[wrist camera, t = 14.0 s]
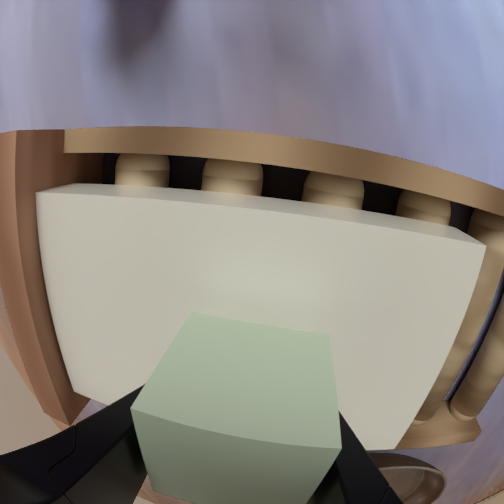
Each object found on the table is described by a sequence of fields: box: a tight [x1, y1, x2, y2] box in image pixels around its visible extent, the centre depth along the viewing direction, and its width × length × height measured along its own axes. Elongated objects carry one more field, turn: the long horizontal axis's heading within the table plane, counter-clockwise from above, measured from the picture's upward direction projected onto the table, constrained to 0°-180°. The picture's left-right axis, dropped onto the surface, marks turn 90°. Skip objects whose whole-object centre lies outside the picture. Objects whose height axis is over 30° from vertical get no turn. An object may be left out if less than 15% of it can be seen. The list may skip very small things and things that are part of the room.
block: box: [130, 312, 342, 504], centre depth 7 cm, size 4×4×4 cm
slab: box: [35, 183, 486, 450], centre depth 11 cm, size 16×10×2 cm, turn 85°
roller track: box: [0, 126, 504, 450], centre depth 12 cm, size 26×14×6 cm, turn 83°
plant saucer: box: [306, 454, 447, 504], centre depth 19 cm, size 18×18×3 cm
